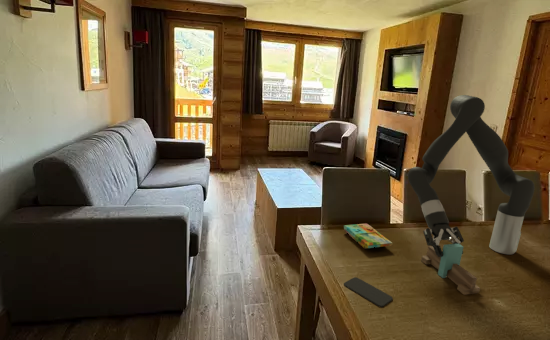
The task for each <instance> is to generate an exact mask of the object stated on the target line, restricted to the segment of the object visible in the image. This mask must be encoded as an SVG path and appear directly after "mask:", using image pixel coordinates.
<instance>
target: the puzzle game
mask: <svg viewBox="0 0 550 340" xmlns="http://www.w3.org/2000/svg"><path fill="white" fill-rule="evenodd" d="M343 229H344V231H345V232H346V234H347V233H348V234H349V235H348V234H347V235H348V236H349V237H351V238H352V239H353V240H354V241H355V243H357V242H358V243H357V244H358V245H359V246H361V248H363V249H365V250H366V249H374V247H375V248H382V247H391V246H393V244H394V243H393V242H392V241H391V240H389V239H388V238H387V237H385V236H384V235H383V234H381V233H380V232H379V231H377V229H375V228H374V227H372V226H371V225H369V224H368V223H359V224H358V223H357V224H346V225H343Z"/></svg>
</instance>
